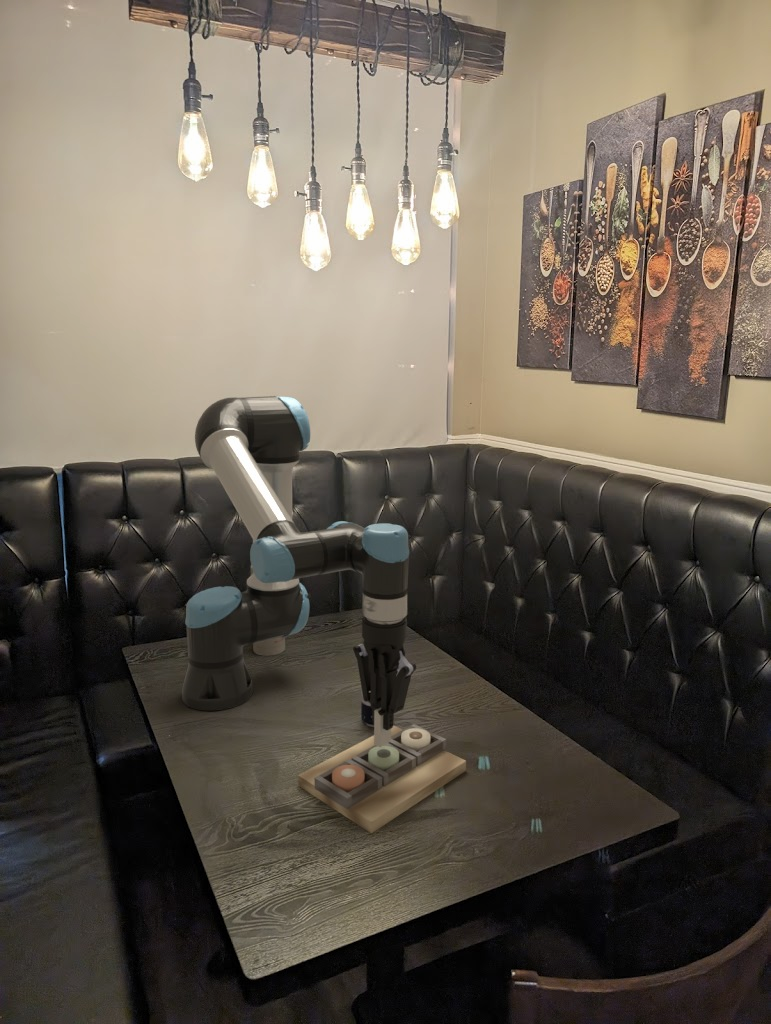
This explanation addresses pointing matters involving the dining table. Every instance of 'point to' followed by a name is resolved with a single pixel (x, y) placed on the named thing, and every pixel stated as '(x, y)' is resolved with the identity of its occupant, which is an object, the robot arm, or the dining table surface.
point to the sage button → (383, 757)
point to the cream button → (415, 739)
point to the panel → (384, 779)
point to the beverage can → (366, 711)
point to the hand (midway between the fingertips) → (382, 742)
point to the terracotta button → (348, 777)
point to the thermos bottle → (269, 644)
